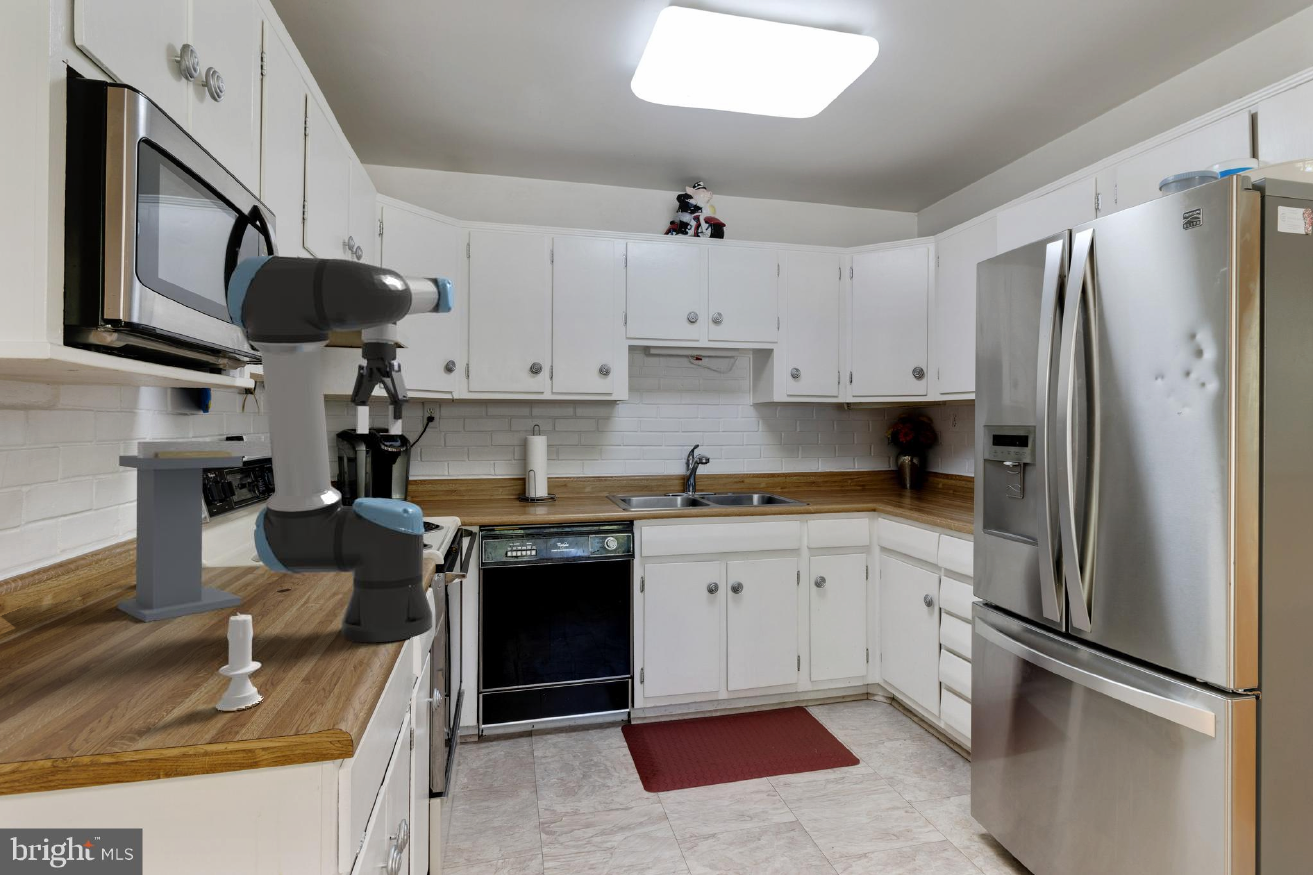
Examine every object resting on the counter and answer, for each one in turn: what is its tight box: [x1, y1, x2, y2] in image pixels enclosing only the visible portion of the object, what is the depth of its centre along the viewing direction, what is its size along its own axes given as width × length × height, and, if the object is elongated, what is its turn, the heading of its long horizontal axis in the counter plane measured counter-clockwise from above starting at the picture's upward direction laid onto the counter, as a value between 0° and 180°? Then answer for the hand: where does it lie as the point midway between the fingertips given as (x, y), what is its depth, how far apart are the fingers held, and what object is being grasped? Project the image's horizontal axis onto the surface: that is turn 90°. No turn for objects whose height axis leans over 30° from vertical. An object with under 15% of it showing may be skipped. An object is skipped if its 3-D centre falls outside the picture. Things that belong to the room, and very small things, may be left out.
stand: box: [117, 454, 243, 623], centre depth 133 cm, size 16×15×30 cm
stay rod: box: [136, 440, 272, 458], centre depth 134 cm, size 26×3×3 cm, turn 144°
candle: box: [215, 612, 264, 711], centre depth 87 cm, size 5×5×12 cm
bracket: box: [158, 452, 232, 458], centre depth 130 cm, size 12×7×1 cm, turn 144°
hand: (378, 433), depth 156 cm, fingers open, 13 cm apart
